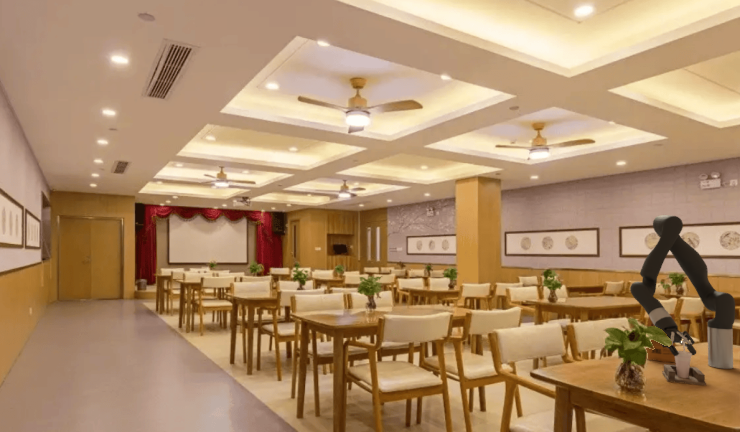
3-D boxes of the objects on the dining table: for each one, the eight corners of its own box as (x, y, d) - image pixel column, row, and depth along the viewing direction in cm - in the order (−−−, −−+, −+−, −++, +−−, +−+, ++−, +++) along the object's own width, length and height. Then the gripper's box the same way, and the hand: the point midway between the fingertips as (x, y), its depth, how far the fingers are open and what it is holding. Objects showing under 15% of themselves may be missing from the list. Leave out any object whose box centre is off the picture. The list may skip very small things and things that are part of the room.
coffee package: (646, 355, 244) (645, 310, 245) (676, 359, 237) (675, 312, 238) (645, 359, 235) (644, 312, 236) (676, 363, 229) (675, 315, 230)
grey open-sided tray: (662, 373, 211) (662, 363, 211) (698, 377, 206) (698, 367, 207) (667, 381, 199) (667, 371, 199) (706, 385, 194) (706, 375, 195)
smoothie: (695, 379, 199) (694, 343, 200) (677, 378, 201) (676, 342, 201) (688, 375, 206) (687, 340, 206) (671, 373, 207) (670, 339, 207)
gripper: (653, 316, 210) (676, 350, 198) (682, 315, 213) (706, 348, 201) (644, 326, 214) (665, 360, 203) (671, 326, 218) (694, 359, 206)
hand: (685, 354), depth 202 cm, fingers open, 8 cm apart
